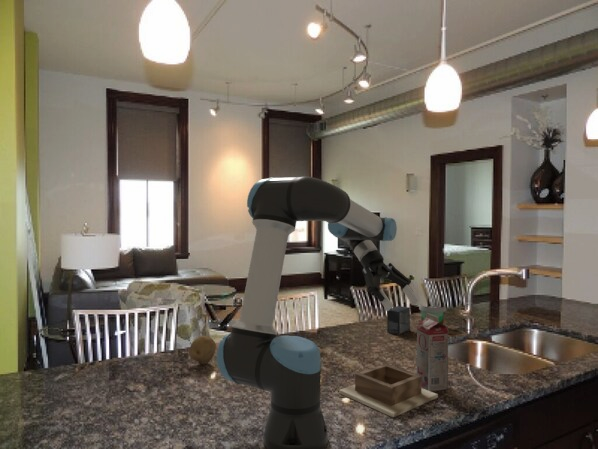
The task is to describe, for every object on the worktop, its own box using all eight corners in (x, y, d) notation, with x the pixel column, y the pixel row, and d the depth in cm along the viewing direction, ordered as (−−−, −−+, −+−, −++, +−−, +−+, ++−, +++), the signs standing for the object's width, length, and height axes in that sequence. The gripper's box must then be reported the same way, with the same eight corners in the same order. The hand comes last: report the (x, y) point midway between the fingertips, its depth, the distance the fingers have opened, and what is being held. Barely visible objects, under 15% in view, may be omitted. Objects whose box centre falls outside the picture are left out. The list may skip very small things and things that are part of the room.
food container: (418, 328, 204) (418, 306, 204) (418, 325, 210) (419, 304, 210) (446, 330, 201) (446, 308, 200) (446, 327, 207) (446, 305, 206)
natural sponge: (196, 370, 150) (196, 341, 150) (184, 363, 157) (184, 335, 157) (220, 364, 156) (220, 336, 155) (208, 358, 163) (207, 331, 162)
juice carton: (428, 391, 133) (429, 318, 132) (416, 383, 140) (417, 313, 139) (447, 389, 135) (448, 316, 134) (435, 381, 141) (436, 312, 141)
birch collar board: (393, 417, 116) (393, 394, 116) (339, 393, 132) (339, 373, 131) (437, 397, 129) (437, 376, 129) (383, 377, 144) (383, 358, 144)
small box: (397, 328, 206) (397, 305, 205) (410, 330, 201) (410, 307, 201) (386, 332, 197) (386, 309, 197) (399, 335, 193) (399, 311, 193)
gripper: (386, 260, 166) (419, 306, 155) (338, 265, 151) (371, 318, 140) (397, 246, 162) (433, 293, 151) (349, 251, 146) (385, 304, 135)
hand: (403, 305), depth 145 cm, fingers open, 13 cm apart
